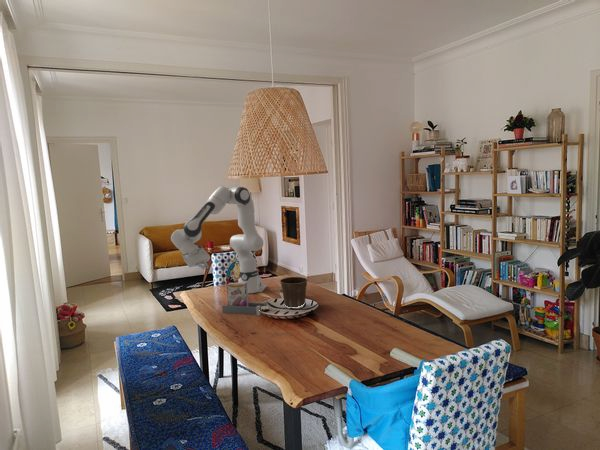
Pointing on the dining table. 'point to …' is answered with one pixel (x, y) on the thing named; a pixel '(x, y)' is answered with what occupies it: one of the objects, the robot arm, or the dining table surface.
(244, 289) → the candy bar box
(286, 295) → the plant pot
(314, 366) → the dining table surface
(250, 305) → the chute
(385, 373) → the dining table surface
